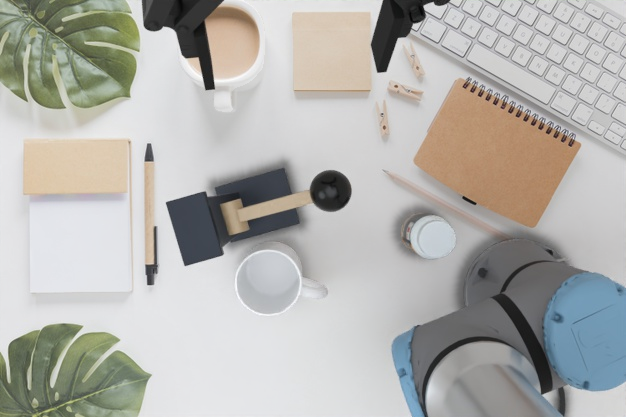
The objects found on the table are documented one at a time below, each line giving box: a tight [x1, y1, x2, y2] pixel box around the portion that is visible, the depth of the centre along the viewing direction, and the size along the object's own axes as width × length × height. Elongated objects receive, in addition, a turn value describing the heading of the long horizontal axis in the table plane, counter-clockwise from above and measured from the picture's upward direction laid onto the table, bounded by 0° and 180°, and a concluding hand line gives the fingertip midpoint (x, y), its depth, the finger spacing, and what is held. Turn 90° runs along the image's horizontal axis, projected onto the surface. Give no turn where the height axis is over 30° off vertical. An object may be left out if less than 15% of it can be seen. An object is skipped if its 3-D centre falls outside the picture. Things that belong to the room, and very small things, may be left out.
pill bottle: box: [400, 212, 457, 260], centre depth 72 cm, size 6×6×10 cm
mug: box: [234, 240, 329, 317], centre depth 72 cm, size 12×8×10 cm
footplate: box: [214, 167, 301, 244], centre depth 76 cm, size 10×8×1 cm
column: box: [165, 190, 240, 267], centre depth 62 cm, size 4×6×27 cm, turn 16°
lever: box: [220, 169, 353, 235], centre depth 49 cm, size 13×4×4 cm, turn 105°
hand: (295, 66), depth 43 cm, fingers open, 13 cm apart
